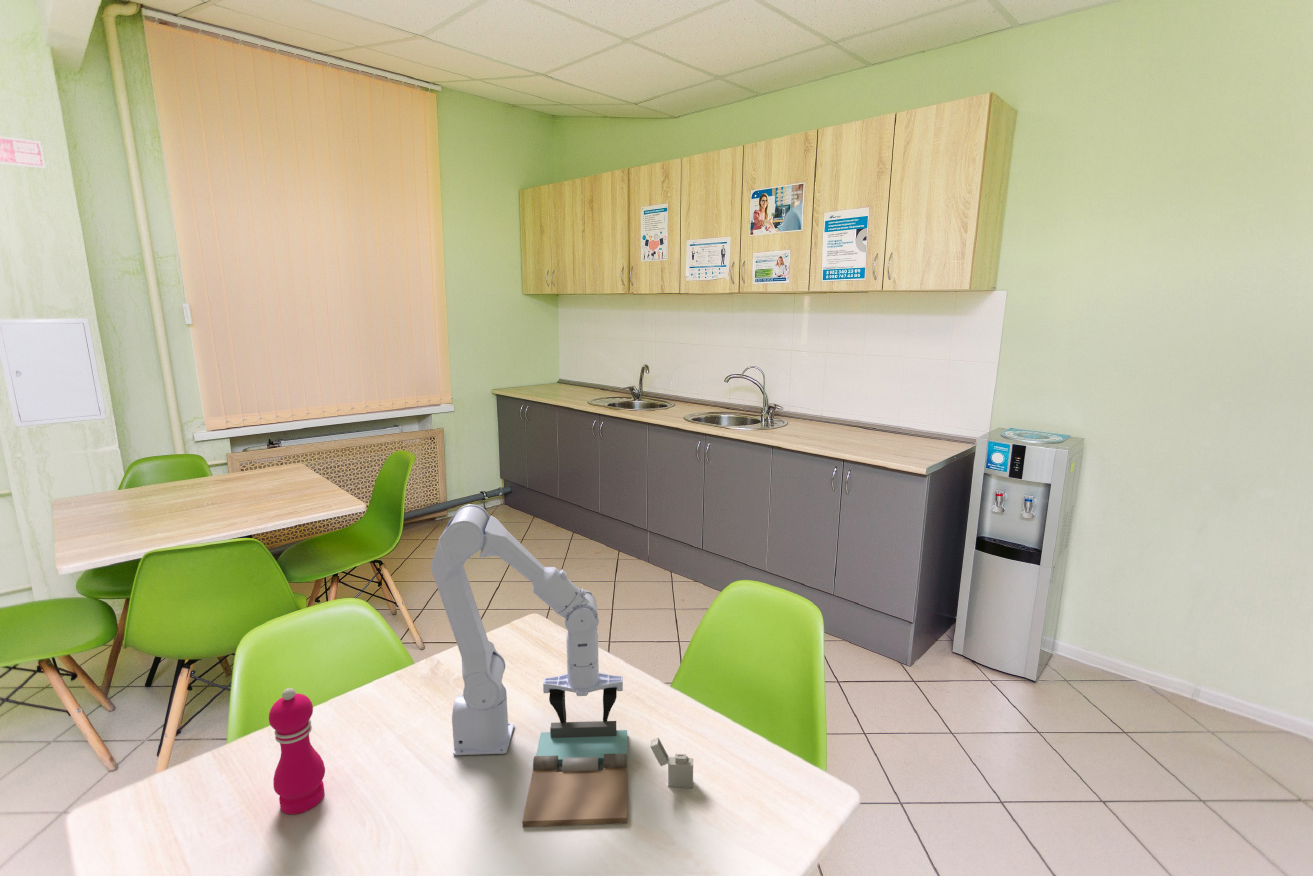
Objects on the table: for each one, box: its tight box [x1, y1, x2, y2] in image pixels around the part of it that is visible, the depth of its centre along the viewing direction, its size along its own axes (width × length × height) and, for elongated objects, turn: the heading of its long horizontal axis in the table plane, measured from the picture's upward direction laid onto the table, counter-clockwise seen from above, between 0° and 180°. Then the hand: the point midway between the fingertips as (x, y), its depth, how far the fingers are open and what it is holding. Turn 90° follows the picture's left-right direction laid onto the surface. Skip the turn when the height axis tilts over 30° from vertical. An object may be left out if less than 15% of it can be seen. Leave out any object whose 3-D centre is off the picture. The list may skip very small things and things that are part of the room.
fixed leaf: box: [521, 752, 628, 828], centre depth 102 cm, size 16×13×2 cm
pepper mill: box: [268, 687, 326, 815], centre depth 99 cm, size 7×7×20 cm
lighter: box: [650, 737, 694, 789], centre depth 103 cm, size 7×2×8 cm, turn 86°
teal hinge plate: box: [535, 720, 628, 772], centre depth 110 cm, size 16×10×3 cm, turn 93°
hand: (584, 724), depth 117 cm, fingers open, 7 cm apart
